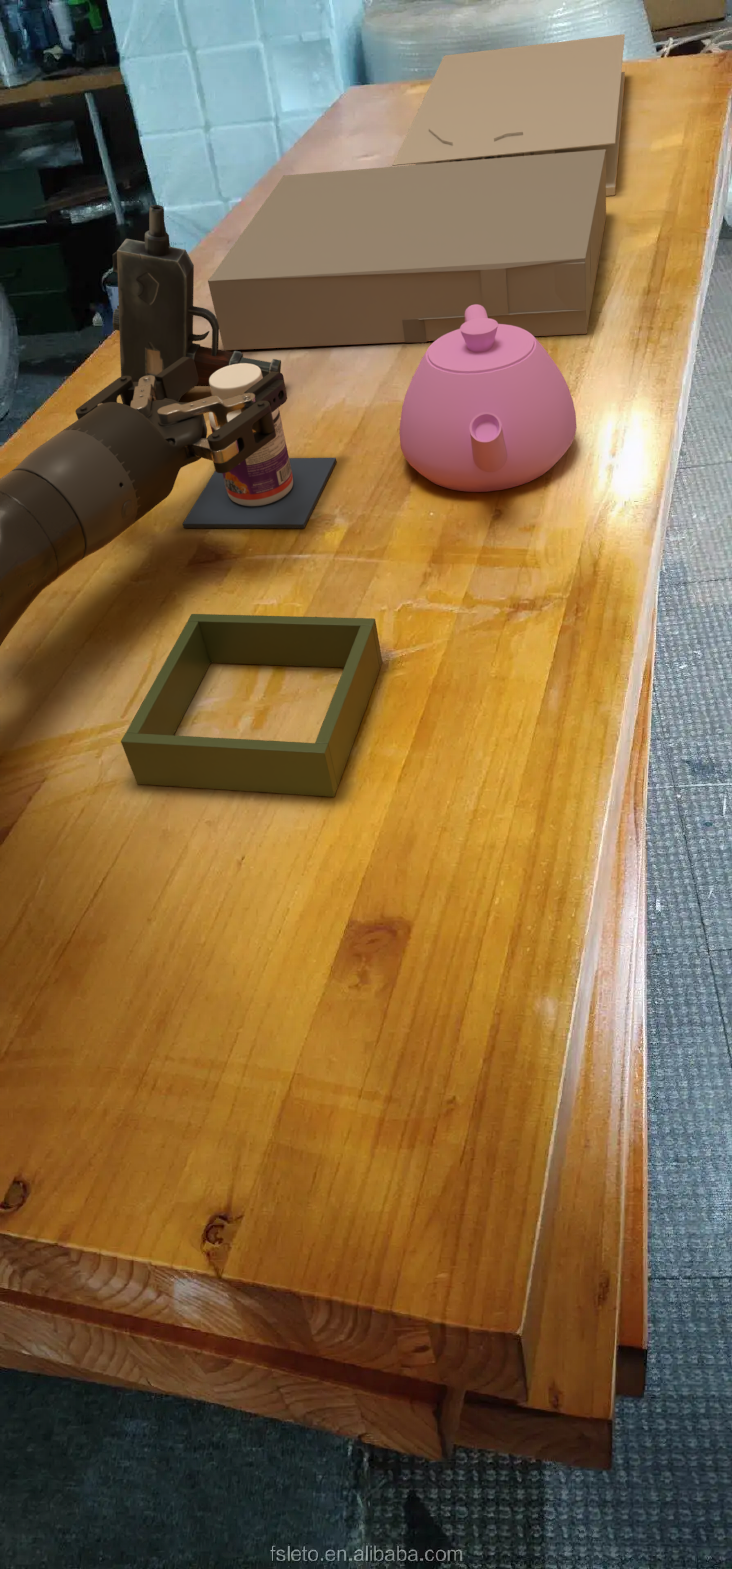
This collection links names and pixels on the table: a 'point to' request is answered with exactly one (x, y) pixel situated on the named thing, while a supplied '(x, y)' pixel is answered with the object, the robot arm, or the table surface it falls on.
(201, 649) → the square frame
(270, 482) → the pill bottle
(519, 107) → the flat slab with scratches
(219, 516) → the mat
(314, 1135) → the table surface
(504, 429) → the teapot
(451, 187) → the box
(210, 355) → the gun
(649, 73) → the table surface
